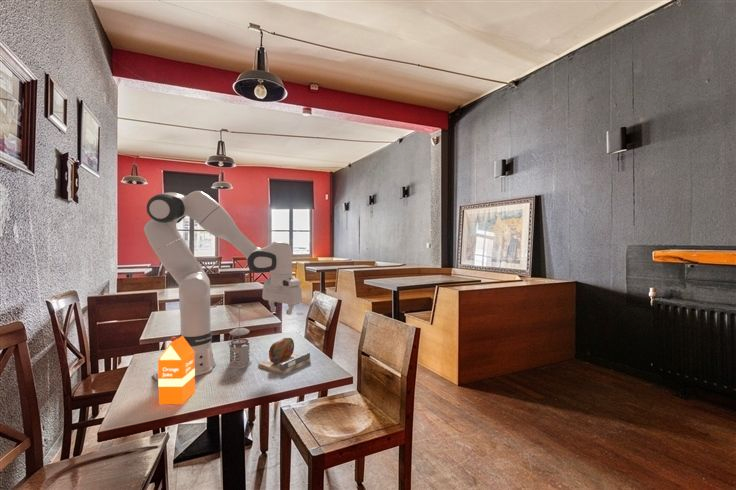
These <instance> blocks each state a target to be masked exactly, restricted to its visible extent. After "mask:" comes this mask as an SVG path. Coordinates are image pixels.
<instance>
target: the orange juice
mask: <svg viewBox="0 0 736 490" xmlns="http://www.w3.org/2000/svg"><path fill="white" fill-rule="evenodd" d="M177 338H178V337H177ZM157 367H158V368H157V369H158V370H157V371H158V380H157V383H158V384H157V385H158V405H159V404H183V403H184V402H185V401H186V400H187V399H188V398H189V397H190V396H191V395H192V396H193V395H194V394H195V392H196V384H195V383H196V380H195V377H196V376H195V366H194V351H193V349H192V348H191V347H190V345H189V344H188V342H187V341H186V340H185V338H184V337H183V336H181V337H180V338H178V339H176V340H175V341H173V342H172V341H171V342H170V343H169V344H168V346H167V347H166V348H165V350H164V351H163V353H162V354H161V355H160V356H159V359H158V360H157ZM192 396H191V397H192ZM191 397H190V398H191ZM190 398H189V399H190ZM189 399H188V400H189ZM188 400H187V401H188ZM187 401H186V402H187ZM186 402H185V403H186ZM185 403H184V404H185ZM184 404H183V405H184Z"/></svg>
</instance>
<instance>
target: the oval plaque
mask: <svg viewBox="0 0 736 490" xmlns="http://www.w3.org/2000/svg"><path fill="white" fill-rule="evenodd" d="M294 350H295V343H294V340H293V338H292V337H284V338H281V339H280V340H278V341H276V342H274V343H272V344H271V346H270V347H269V350H268V359H270V361H271V362H272V363H277V364H279V363H281V362H283V361H284V360H286V359H288V358H289V357H291V355H292V354H294Z"/></svg>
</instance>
